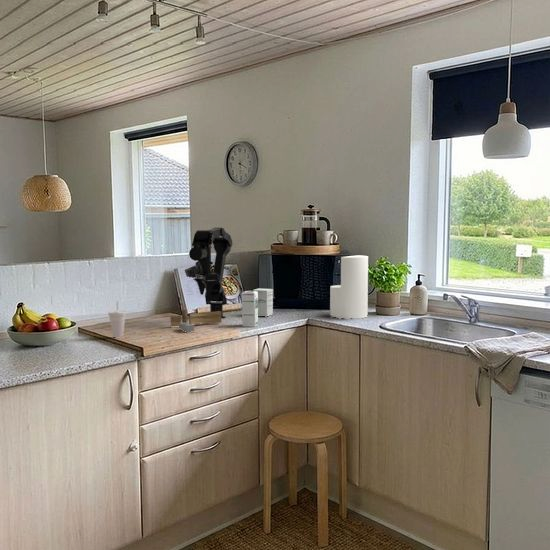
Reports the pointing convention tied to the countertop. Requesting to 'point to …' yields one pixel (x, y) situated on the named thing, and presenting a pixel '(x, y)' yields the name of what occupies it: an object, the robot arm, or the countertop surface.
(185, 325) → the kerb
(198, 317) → the gate
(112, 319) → the smoothie
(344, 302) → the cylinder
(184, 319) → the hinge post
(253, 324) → the white miniature cabinet
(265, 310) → the supplement box
